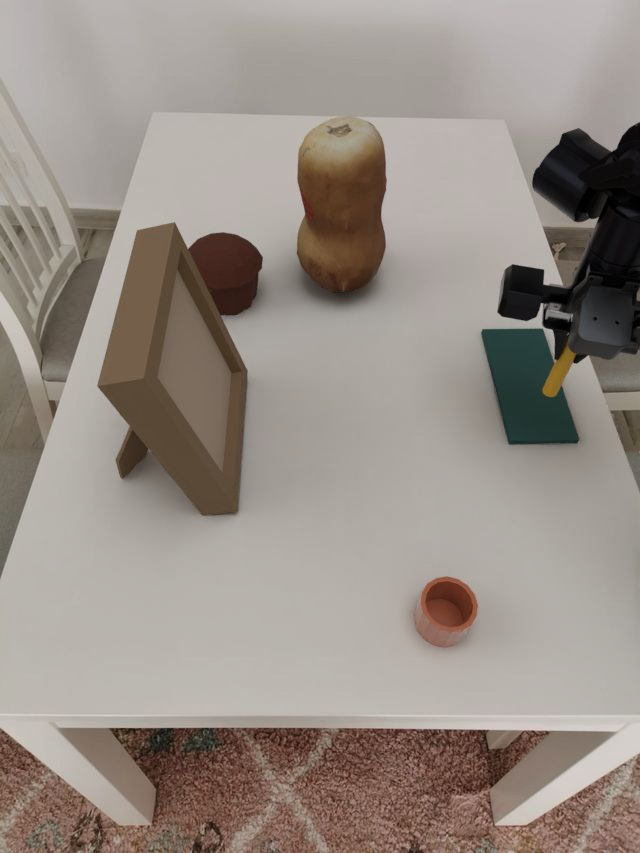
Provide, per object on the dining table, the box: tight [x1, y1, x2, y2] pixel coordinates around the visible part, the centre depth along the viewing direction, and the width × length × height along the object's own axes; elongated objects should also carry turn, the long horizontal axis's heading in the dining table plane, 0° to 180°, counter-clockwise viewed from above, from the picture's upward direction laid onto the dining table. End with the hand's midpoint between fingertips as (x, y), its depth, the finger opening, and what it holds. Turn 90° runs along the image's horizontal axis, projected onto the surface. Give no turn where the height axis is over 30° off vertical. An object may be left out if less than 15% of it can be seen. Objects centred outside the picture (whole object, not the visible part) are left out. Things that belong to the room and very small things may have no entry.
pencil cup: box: [413, 576, 479, 648], centre depth 64 cm, size 6×6×6 cm
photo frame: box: [96, 221, 249, 517], centre depth 69 cm, size 15×22×25 cm
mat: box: [481, 327, 580, 445], centre depth 85 cm, size 20×9×1 cm, turn 1°
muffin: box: [187, 231, 264, 317], centre depth 91 cm, size 12×11×10 cm
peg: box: [542, 333, 577, 397], centre depth 71 cm, size 2×2×11 cm
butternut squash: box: [296, 116, 388, 295], centre depth 88 cm, size 14×13×25 cm
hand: (565, 359), depth 71 cm, fingers closed on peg, 2 cm apart
